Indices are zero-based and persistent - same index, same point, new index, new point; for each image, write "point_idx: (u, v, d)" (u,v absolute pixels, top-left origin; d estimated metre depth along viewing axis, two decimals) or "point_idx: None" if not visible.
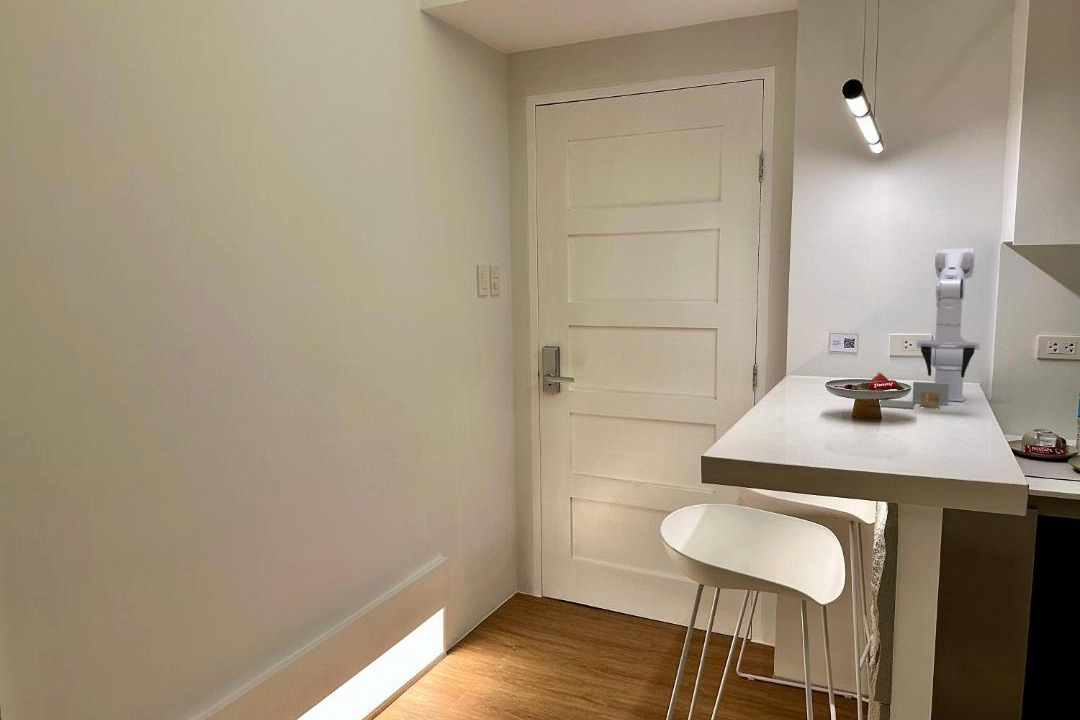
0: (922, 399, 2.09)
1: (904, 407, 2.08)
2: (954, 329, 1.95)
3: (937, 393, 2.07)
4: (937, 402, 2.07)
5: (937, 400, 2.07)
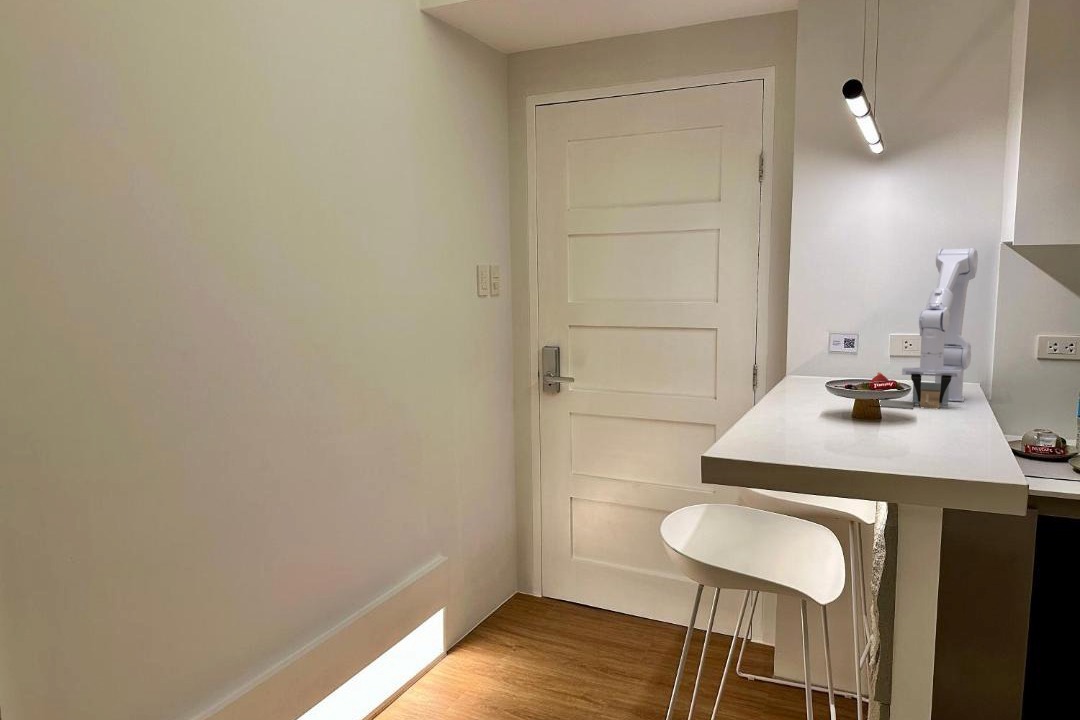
0: (922, 399, 2.09)
1: (904, 407, 2.08)
2: (937, 358, 2.06)
3: (937, 393, 2.07)
4: (937, 402, 2.07)
5: (937, 400, 2.07)
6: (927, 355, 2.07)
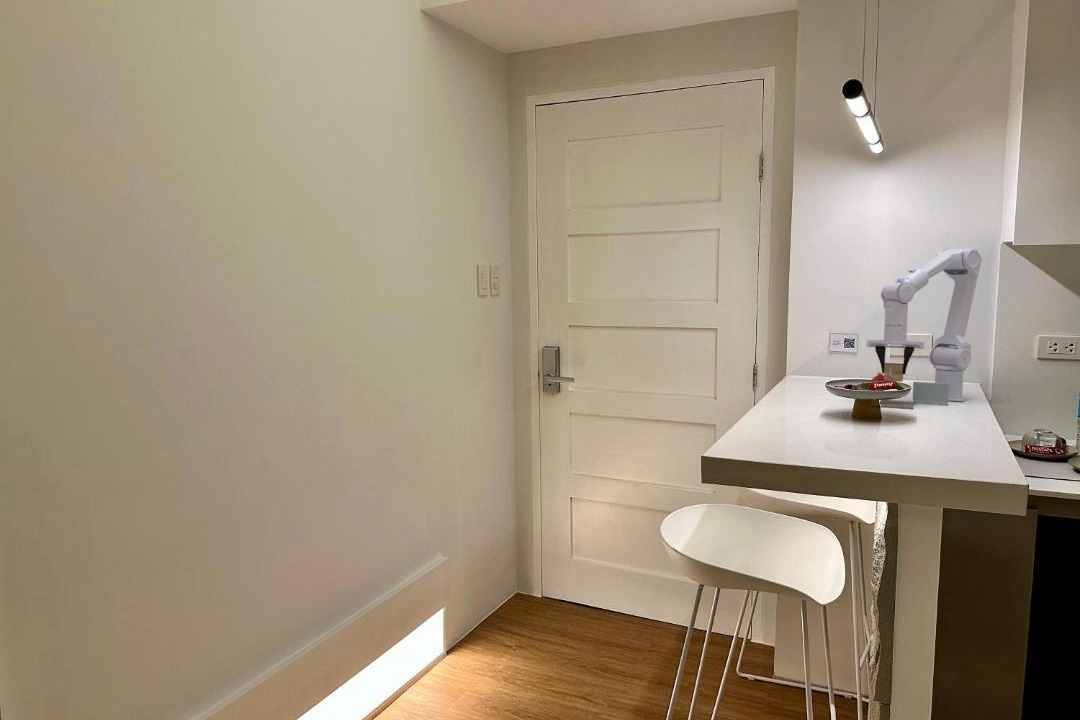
0: (886, 372, 2.12)
1: (904, 407, 2.08)
2: (900, 329, 2.09)
3: (900, 366, 2.10)
4: (900, 375, 2.10)
5: (900, 373, 2.10)
6: (890, 327, 2.10)
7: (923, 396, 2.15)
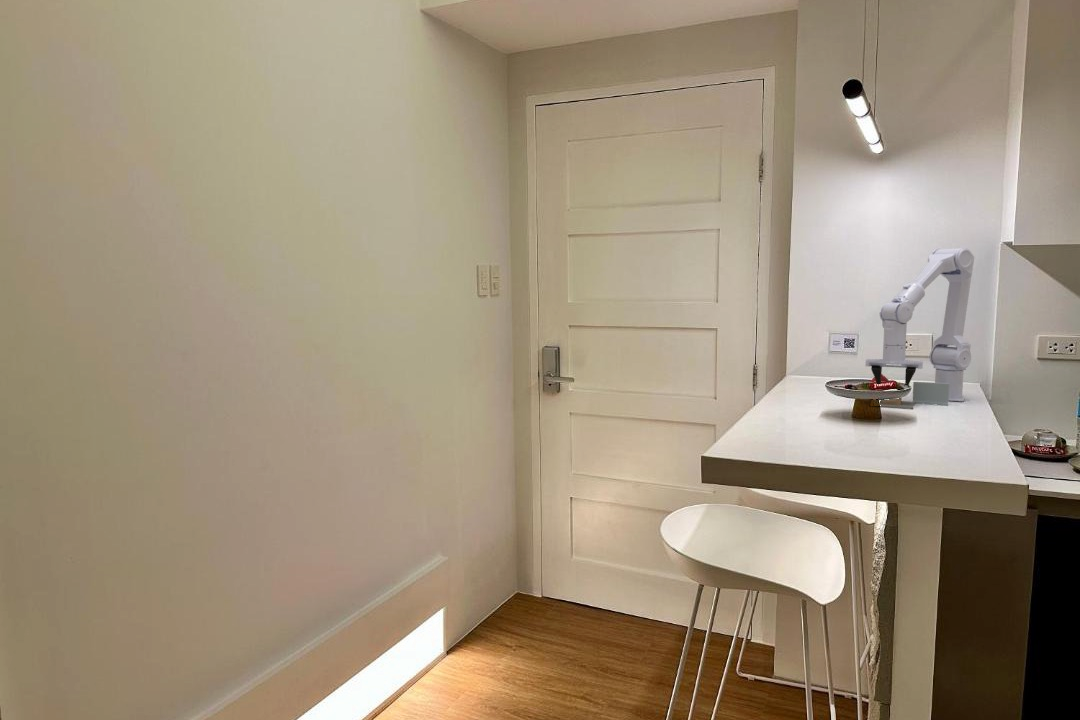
0: None
1: (904, 407, 2.08)
2: (899, 349, 2.10)
3: None
4: (899, 398, 2.11)
5: None
6: (889, 347, 2.11)
7: (923, 396, 2.15)
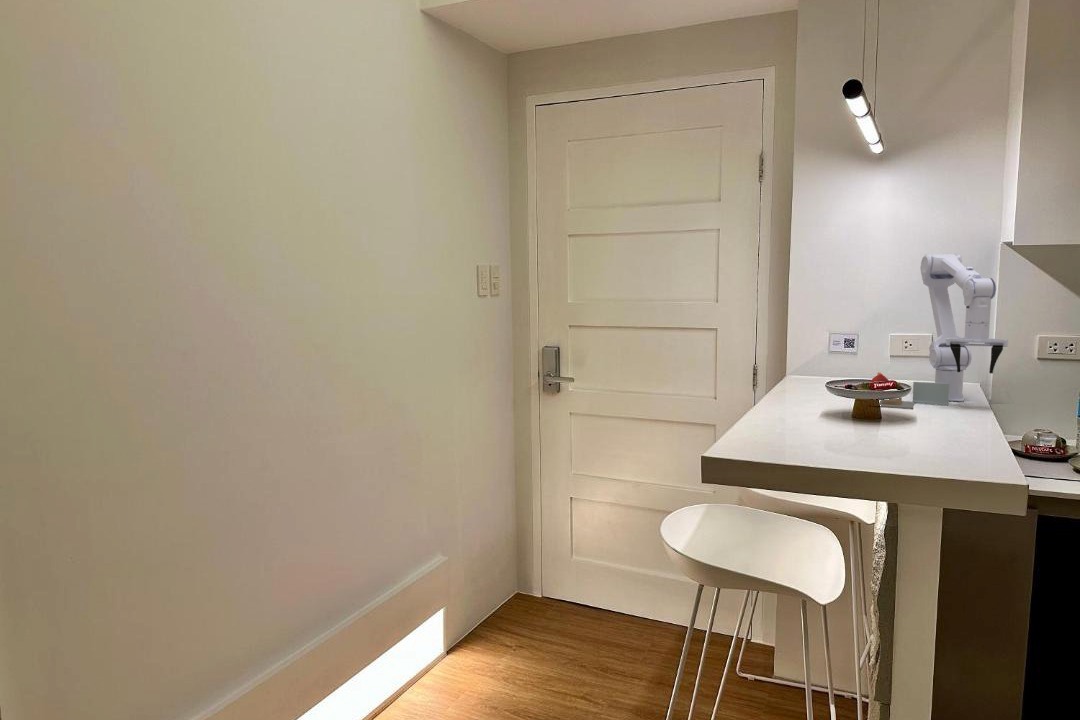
0: None
1: (904, 407, 2.08)
2: (983, 327, 2.02)
3: None
4: (899, 398, 2.11)
5: None
6: (972, 324, 2.03)
7: (923, 396, 2.15)
